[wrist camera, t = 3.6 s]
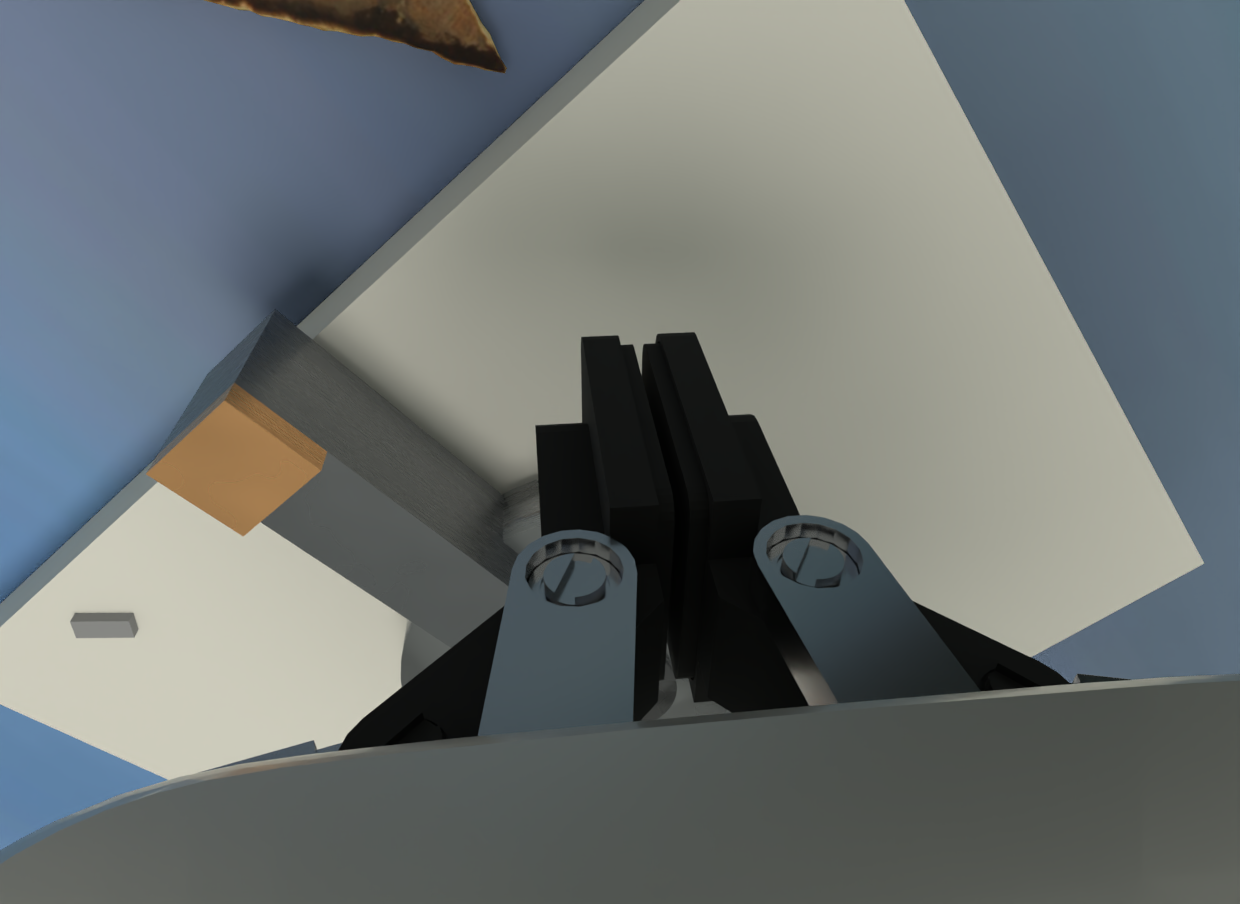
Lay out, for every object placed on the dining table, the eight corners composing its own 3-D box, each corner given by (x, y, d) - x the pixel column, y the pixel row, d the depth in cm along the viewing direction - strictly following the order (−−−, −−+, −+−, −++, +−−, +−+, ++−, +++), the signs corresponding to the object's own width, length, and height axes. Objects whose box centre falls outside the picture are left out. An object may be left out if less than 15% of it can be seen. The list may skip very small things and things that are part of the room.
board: (1151, 511, 27) (1211, 570, 24) (515, 874, 35) (516, 943, 33) (789, -137, 16) (836, -139, 14) (-8, 611, 24) (-63, 688, 22)
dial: (873, 623, 24) (925, 729, 21) (588, 792, 27) (597, 905, 24) (427, 162, 16) (406, 230, 13) (88, 486, 19) (7, 602, 16)
